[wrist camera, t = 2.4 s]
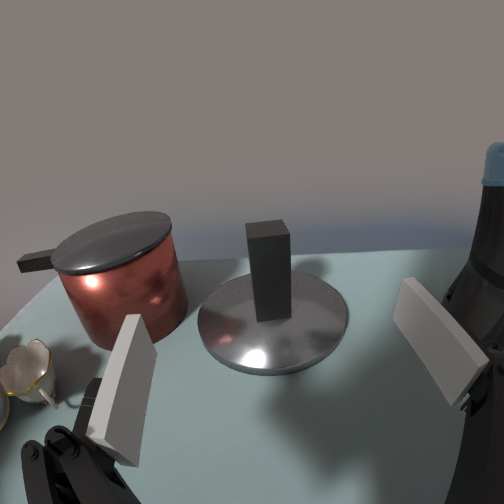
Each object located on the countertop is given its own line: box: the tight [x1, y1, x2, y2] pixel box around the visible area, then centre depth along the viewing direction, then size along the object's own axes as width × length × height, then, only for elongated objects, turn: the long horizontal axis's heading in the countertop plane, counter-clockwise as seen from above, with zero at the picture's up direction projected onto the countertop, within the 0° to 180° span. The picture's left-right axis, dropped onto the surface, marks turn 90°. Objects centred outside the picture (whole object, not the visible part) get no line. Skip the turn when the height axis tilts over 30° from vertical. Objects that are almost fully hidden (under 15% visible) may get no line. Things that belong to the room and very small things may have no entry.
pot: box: [17, 211, 188, 351], centre depth 33 cm, size 27×17×12 cm, turn 95°
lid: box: [198, 220, 347, 376], centre depth 30 cm, size 18×18×12 cm
